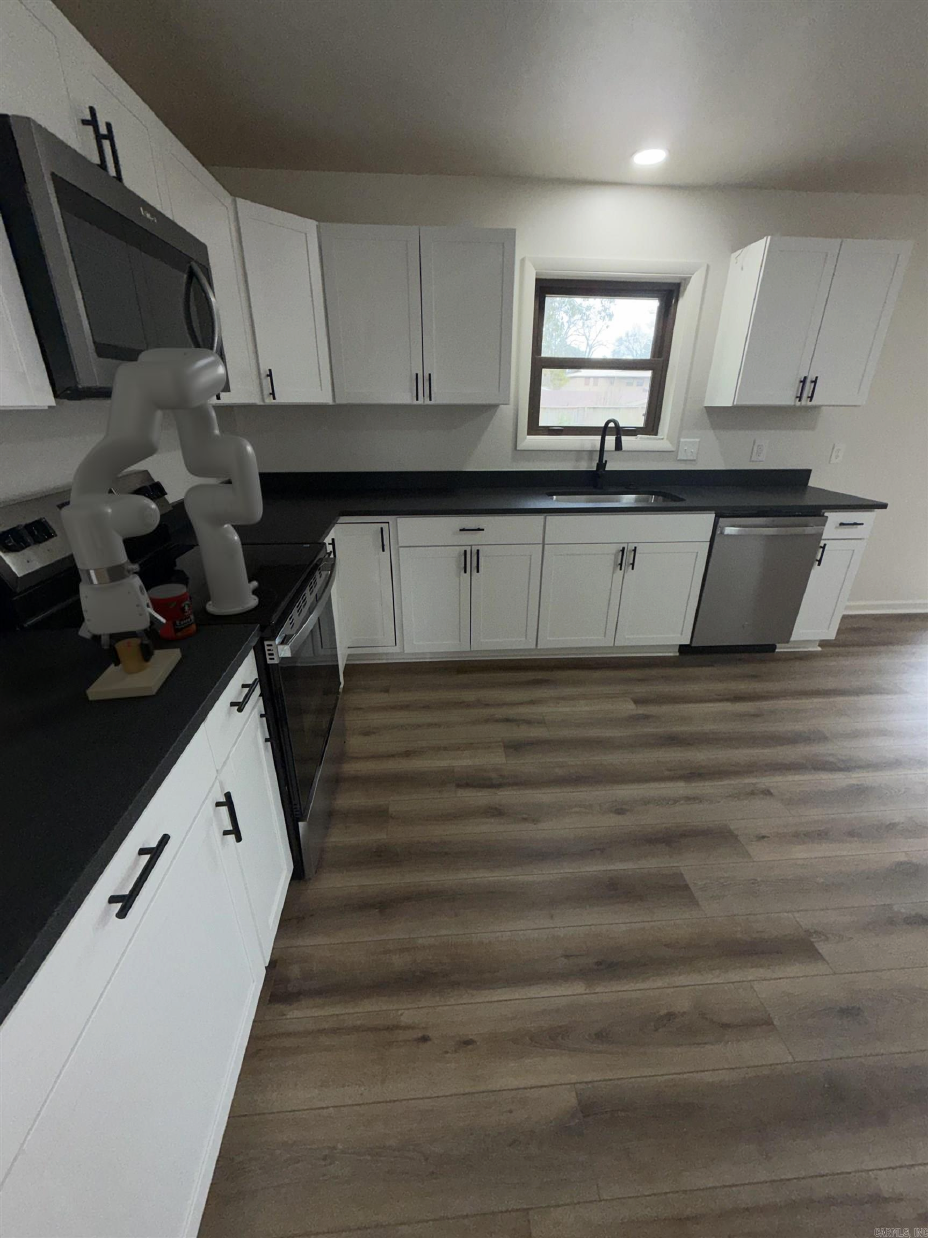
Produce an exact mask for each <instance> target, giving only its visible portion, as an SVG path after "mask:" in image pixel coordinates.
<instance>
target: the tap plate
mask: <svg viewBox="0 0 928 1238" xmlns="http://www.w3.org/2000/svg"><path fill="white" fill-rule="evenodd" d="M181 658H182V653H181V650H180V648H167V649H154V656H152V658H151V660H150V662H148V663H149V667H148V668H146V669H145V670H143V671H140V672H137V673H130V674H129V673H124V672H123V669H122V666H121V663H120V665H119V666H116V667H115V666H114V664H113V663H111V665H110V666H108V668H107V669H106V670H105V671H104V672H103V673H102V674H101V675H100V676H99V677H98V678H97V679H96V681H94V682H93V684H92V685H90V686H89V688H88V689H86V691H85V692H86V695H87V697H88V700H89V701H98V700H111V699H122V698H133V697H143V696H154V695H155V694H156V693H157V692H158V690H159V689H160V687H161V686H162V685H163V684H164V682H165V681H166V679H167V677H168V676H169V674H171V672H172V671H173V669H174V668H175V667H176V665H177V664H178V662H179V661H180V659H181Z"/></svg>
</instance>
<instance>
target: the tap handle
mask: <svg viewBox="0 0 928 1238" xmlns="http://www.w3.org/2000/svg"><path fill="white" fill-rule="evenodd" d="M117 642H118V643H117V644H116V645H115V648H116V651H117V654H118V657H119V660H120V663H121V666H122V669H123V672H124V673H129V674H130V673H137V672H140V671H143V670H145V669H146V668H148V667H149V663H148V662H145V661H144V658H143V655H142V652H141V649H140V644H141V640H140V638H139V637H130V638H126V639H122V640H120V641H117Z"/></svg>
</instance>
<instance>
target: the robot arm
mask: <svg viewBox="0 0 928 1238" xmlns="http://www.w3.org/2000/svg"><path fill="white" fill-rule="evenodd" d="M226 382H227V370H226V366H225V363H224V362H223V360H222V359H221V357H220V356H219V355H218V354H217V353H216V352H215V351H213V350H211V349H209V348H203V347H202V348H201V347H184V348H180V347H179V348H177V347H161V348H160V347H158V348H152V349H147V350H144V351H142V352H141V353H140V354H139V355H138V357H137V361H136V360H135V361H128V362H124V363H122V364H121V365H118V367H117V369H116V371H115V374H114V378H113V385H112V391H111V396H110V397H111V398H110V403H109V410H108V417H107V425H106V432H105V434H104V436H103V438H102V439H101V440H99V441H98V442H97V443H96V444H95V445H94V446H93V447H92V448H91V450H89V452H88V453H87V454H86V455H85V457H84V458H83V459H82V460H81V462H80V463H79V464H78V466H77V468H76V469H75V472H74V474H73V477H72V484H71V488H70V498H69V504H68V505H65V506H64V507H62V508H61V509H60V513H59V514H60V515H59V517H60V520H61V523H62V525H63V528H64V532H65V534H66V537H67V541H68V544H69V546H70V549H71V552H72V555H73V559H74V561H75V564H76V567H77V570H78V573H79V577H80V579H81V581H80V583H79V588H78V589H79V598H80V602H81V603H80V604H81V609H82V614H83V617H84V621H83V622H82V624H81V626H80V629H79V630H78V633H77V634H78V636H80V637H82V638H86V639H88V640H91V641H92V642H94V643H96V644H98V645H100V646H101V648H103V649H105V650H106V653H107V656H108V659H109V661H110V662H112V664H114V666H115V667H116V666H119V665H120V660H119V657H118V654H117V651H116V648H115V645H116V644H117V643H118V642H119V641H116V640H115V636H114V634H117V633H125V632H126V633H127V632H135V633H136V635H137V638H139V639H140V640H141V644H140V649H141V652H142V655H143V658H144V661H145V662H150V660H151V658H152V656H154V650H155V649H154V645H153V643H152V638H153V637H154V636H155V635H156V634H157V633H159V632H158V631H159V630H160V629H161V628H162V627H164V626H165V624H166V620H165V619H163V618H162V617H161V616H159V615H158V614H157V613H155V612H154V611H153V608H152V605H151V602H150V600H149V597H148V591H147V590H146V588H145V585H144V584H143V582H142V580H141V578H140V576H139V574H136V573H135V572H139V571H140V565H139V564H138V563H131V561H130V559H129V558H128V556H127V552H126V548H125V545H124V542H123V540H124V539H127V538H128V539H129V538H133V537H140V536H145V535H147V534H150V533H151V532H153V531H154V530H155V529H156V528H157V527H158V525H159V522H160V520H161V513H160V510H159V508H158V506H157V504H156V503H155V502H154V501H153V500H151V499H150V498H148V497H147V496H143V495H139V494H130V493H129V494H127V493H126V494H125V493H109V491H110V488H111V486H112V484H113V482H114V480H115V479H116V478H117V477H118V476H119V475H120V474H122V473H123V472H124V471H125V470H127V469H129V468H130V467H133V466H135V465H137V464H139V463H141V462H143V461H146V460H147V459H148V458H149V459H150V458H151V457H153V456H155V454H157V453H158V451H159V450H160V444H161V436H162V427H163V421H164V420H163V419H164V416H165V415H164V413H165V411H166V410H171V412H172V414H173V416H174V417H173V418H174V421H175V425H176V430H177V435H178V439H179V446H180V451H181V455H182V459H183V463H184V467H185V469H186V471H187V473H189V474H190V475H191V476H193V477H197V478H203V479H204V478H205V479H230V481H231V483H198V484H195V485H192V486H190V487H189V488H188V489H187V490H186V492H185V494H184V496H183V503H184V509H185V512H186V514H187V517H188V518H189V520H190V522H191V525H192V527H193V530H194V533H195V536H196V540H197V544H198V548H199V553H200V557H201V562H202V565H203V569H204V570H203V571H204V575H205V578H206V579H205V580H206V584H207V588H208V592H209V596H210V601H208V602H207V603H206V605H205V609H206V612H207V613H209V614H212V615H215V616H231V615H237V614H241V613H245V612H248V611H250V610H252V609H254V608H255V607H256V606H258V605H259V598H258V596H256V595H254V594H253V590H255V589H256V588H258V587H259V583H258V581H256V580H253V581H251V582H249V579H248V574H247V569H246V564H245V558H244V553H243V548H242V547H243V546H242V543H241V539H240V537H239V535H238V533H237V531H236V530H235V528H234V527H233V526H232V525H234V526H236V525H237V526H250V525H255V524H257V523H258V522H259V521H260V520H261V519H262V516H263V511H264V508H263V507H264V506H263V505H264V504H263V503H264V502H263V497H262V496H263V495H262V488H261V482H260V481H261V480H260V475H259V467H258V466H259V465H258V462H257V456H256V452H255V451H254V448H253V446H252V445H251V443H250V442H249V441H248V440H247V439H246V438H244V437H241V436H239V435H222V434H221V433H220V429H219V425H218V420H217V415H216V411H215V409H214V408H213V406H212V404H211V403H210V402H209V400H210V399H212V398H214V397H216V396H217V395H218V394H219V393H221V392H222V391H223V390H224V387H225V386H226ZM151 622H153V623H154V624H153V625H152V626H151ZM149 627H150V628H149Z"/></svg>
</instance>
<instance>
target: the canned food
mask: <svg viewBox="0 0 928 1238" xmlns="http://www.w3.org/2000/svg"><path fill="white" fill-rule="evenodd" d="M147 595H148V597H149V600H150V602H151V605H152V608H153V611H154V612H155V613H157V614H158V615H159V616H161V617H162V618H163V619H165V620H166V624H165V626H164V627H162V628H161V629H160V630H159V631H158V632H157V633H158V635H159V636H160V638H162V639H164V640H168V641H174V640H175V641H177V640H181V639H185V638H188V637H190V636H192V635H193V634H195V633H196V632H197V631H196V629H197V626H196V625H197V624H196V621H195V616H194V612H193V609H192V605H191V601H190V596H189V592H188V589H187V586H186V585H185V584H183V583H182V584H181V583H167V584H162V585H159V586H158V585H157V586H154V587H152V588H150V589H149V590H148V591H147Z"/></svg>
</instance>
